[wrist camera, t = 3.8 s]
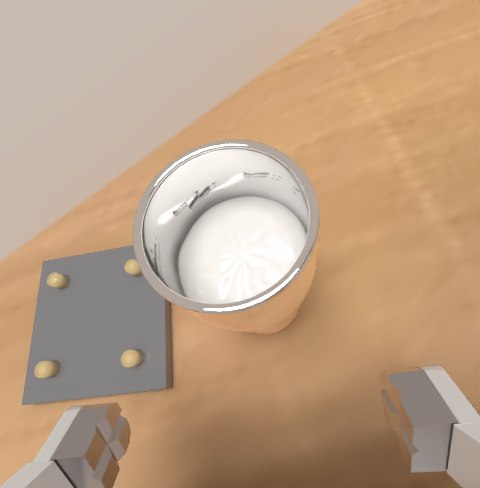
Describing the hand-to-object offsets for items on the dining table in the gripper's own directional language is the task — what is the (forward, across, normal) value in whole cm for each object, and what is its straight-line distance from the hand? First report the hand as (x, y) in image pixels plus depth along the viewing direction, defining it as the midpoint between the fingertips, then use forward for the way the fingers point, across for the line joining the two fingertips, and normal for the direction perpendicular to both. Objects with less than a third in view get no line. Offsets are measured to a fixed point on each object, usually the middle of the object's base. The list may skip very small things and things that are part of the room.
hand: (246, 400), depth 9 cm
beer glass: (+14, 0, +6) cm, 15 cm away
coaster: (+14, +14, +6) cm, 20 cm away
